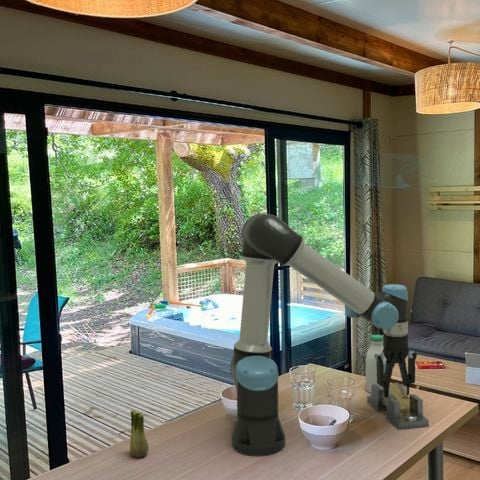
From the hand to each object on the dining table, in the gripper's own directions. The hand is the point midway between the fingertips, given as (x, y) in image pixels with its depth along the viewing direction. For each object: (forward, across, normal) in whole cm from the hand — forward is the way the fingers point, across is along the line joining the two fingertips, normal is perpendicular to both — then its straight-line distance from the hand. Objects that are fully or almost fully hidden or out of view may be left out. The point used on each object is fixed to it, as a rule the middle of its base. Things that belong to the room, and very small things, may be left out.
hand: (396, 406), depth 163 cm
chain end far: (+2, 0, +7) cm, 7 cm away
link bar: (0, 0, 0) cm, 0 cm away
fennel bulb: (+2, -80, -9) cm, 81 cm away
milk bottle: (+3, +3, +20) cm, 20 cm away
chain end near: (+2, 0, -7) cm, 7 cm away
